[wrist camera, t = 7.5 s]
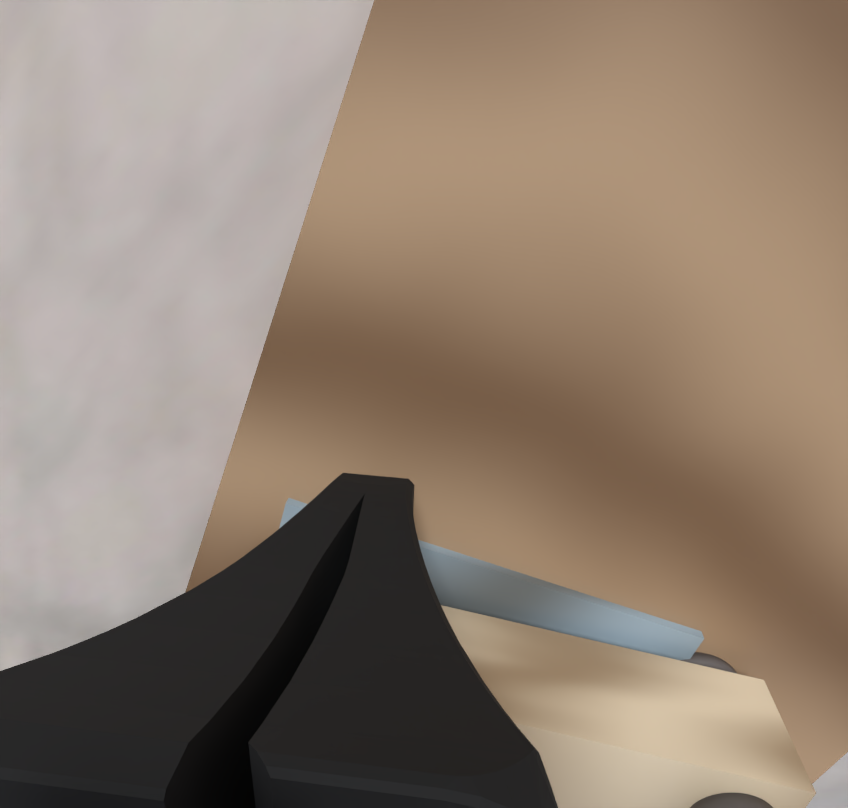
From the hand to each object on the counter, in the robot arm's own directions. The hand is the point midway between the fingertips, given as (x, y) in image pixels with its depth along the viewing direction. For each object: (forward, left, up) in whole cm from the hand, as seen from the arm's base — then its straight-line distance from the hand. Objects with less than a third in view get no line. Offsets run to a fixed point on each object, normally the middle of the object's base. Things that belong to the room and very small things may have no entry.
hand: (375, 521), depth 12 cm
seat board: (+2, -4, -2) cm, 5 cm away
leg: (-3, -3, -1) cm, 4 cm away
